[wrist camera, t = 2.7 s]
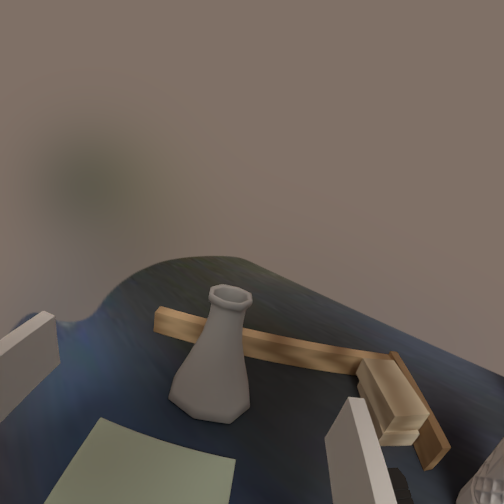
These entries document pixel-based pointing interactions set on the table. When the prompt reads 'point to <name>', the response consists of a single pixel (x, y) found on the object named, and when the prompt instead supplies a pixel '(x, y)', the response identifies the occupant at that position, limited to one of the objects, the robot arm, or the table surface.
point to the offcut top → (391, 396)
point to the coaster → (141, 471)
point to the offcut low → (389, 437)
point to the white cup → (486, 481)
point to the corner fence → (310, 367)
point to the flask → (216, 362)
